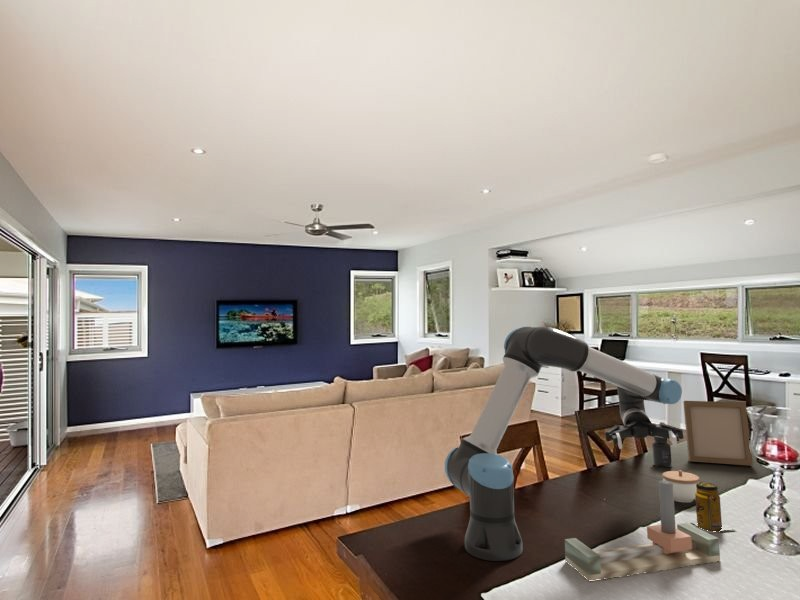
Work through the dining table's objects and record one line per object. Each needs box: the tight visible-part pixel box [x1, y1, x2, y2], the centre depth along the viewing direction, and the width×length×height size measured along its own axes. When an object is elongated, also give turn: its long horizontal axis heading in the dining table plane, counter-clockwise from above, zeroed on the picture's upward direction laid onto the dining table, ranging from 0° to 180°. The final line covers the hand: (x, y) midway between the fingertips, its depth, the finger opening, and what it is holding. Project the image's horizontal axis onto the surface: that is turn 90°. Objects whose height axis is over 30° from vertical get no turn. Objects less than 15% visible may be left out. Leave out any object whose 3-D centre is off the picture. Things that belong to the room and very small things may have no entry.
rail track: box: [564, 522, 721, 581], centre depth 121 cm, size 36×10×6 cm, turn 103°
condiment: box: [695, 481, 737, 534], centre depth 140 cm, size 7×8×12 cm
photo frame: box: [682, 400, 754, 467], centre depth 206 cm, size 15×22×25 cm
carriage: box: [646, 480, 692, 554], centre depth 123 cm, size 6×8×16 cm
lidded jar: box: [661, 469, 700, 504], centre depth 162 cm, size 11×11×9 cm
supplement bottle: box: [651, 436, 673, 469], centre depth 200 cm, size 7×7×12 cm
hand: (647, 443), depth 133 cm, fingers open, 13 cm apart
